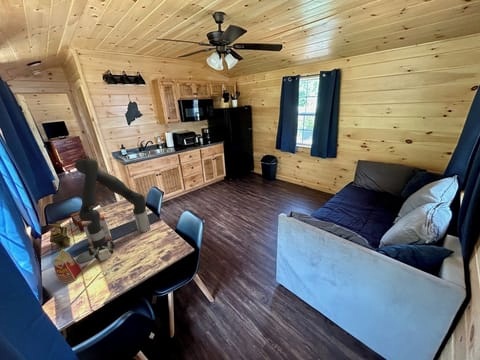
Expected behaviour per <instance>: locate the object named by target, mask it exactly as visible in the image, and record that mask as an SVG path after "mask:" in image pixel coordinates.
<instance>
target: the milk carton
mask: <svg viewBox="0 0 480 360" xmlns="http://www.w3.org/2000/svg"><path fill="white" fill-rule="evenodd" d="M59 251H60V252H58V253H57V254H56V257H55V258H54V259H53V261H52V262H53V267H54V271H55V275H56V277H57V280H58V282H59V283H62V284H64V283H65V284H69V283H72V282H75V281H77V279H78V277H79V276H80V275H81V274H82V273H83V272H84V270H83V269H82V267H81V266H80V263H79V262H78V261H77V260H76V259H75V258H74V257H73V256H72V255H71V253H69V252H68V251H66V250H64V249H63V248H62V249H61V250H59Z"/></svg>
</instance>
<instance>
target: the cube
mask: <svg viewBox="0 0 480 360" xmlns="http://www.w3.org/2000/svg"><path fill="white" fill-rule="evenodd" d="M109 255H110V256H111V253H110V250H109V249H103V250H100V251H99V250H98V259H99V260H100V261H101V262H103V261H106V260H108V259H110V256H109Z"/></svg>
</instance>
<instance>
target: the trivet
mask: <svg viewBox="0 0 480 360" xmlns="http://www.w3.org/2000/svg"><path fill="white" fill-rule="evenodd" d="M94 251H95V249H92V252H94ZM97 255H99V251H98V252H97ZM93 259H95V257H94V255H92V256H90V254H89V251H88V250H87V251H83V253H80V254H79V255H78V256H77V258H76V262H77V263H78V264H80V263H81V264H82V263H87V262H90V261H92V260H93Z"/></svg>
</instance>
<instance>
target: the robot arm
mask: <svg viewBox="0 0 480 360" xmlns="http://www.w3.org/2000/svg"><path fill="white" fill-rule="evenodd" d="M74 167H75V169H76V170H77V171H78V172H79V173H81V174H83V175H84V185H83V187H82V191H81V205H80V210H79V212H80V213H79V218H80V219H81V220H82V221H91V222H92V223H89V224H88V225H87V229H88V232H89V235H90V239H91V241H92V244H93V246H90V245H89V246H88V248H87V251H89V254H90V256H92V255H94V257H95V258H94V259H96V260H98V259H99V254H97V252H98V253H99V251H101V250H104V249H108V251H109V253H110V256H111V255H113V254H114V249H115V247H116V246H115V243H114V241H113V239H110V240H107V241H106V238H105V235H104V232H103V230H102V228H101V225H100V215H101V214H100V212H99V211H98V210H97V209H90V208H91V207H93V206H96V205H97V198H96V197H97V196H96V195H97V194H96V189H97V188H96V184H97V183H99V184H100V185H101V186H104V187H105V188H106V189H107V190H109V191H111V192H113V193H115V194H117V195H119V196H121V197H122V198H124V199H125V200H126V201H127V202H129V203H130V204H131V205H133V207H134V208H133V209H132V213H133V217H134V220H135V224H136V227H137V231H138V232H139V233H147V232H148V231H150V230H151V223H150V221H149V217H148V213H147V209H146V208H147V204H146V199H145V196H144V195H143V194H141V193H139V192H136V191H133V190H132V189H130V188H129V187H128V186H127V185H126V184H125V183H124V182H123V181H121V179H119V178H118V177H116V176H114V175H113V174H110V173H107V172H104V171H102V170H101V169H99V163H98V161H97V160H96V159H94V158H92V157H91V158H90V157H88V158H86V157H85V158H81V159H78V160H76V161H75V163H74ZM110 245H111V246H110ZM92 250H95V251H94V252H92Z"/></svg>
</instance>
